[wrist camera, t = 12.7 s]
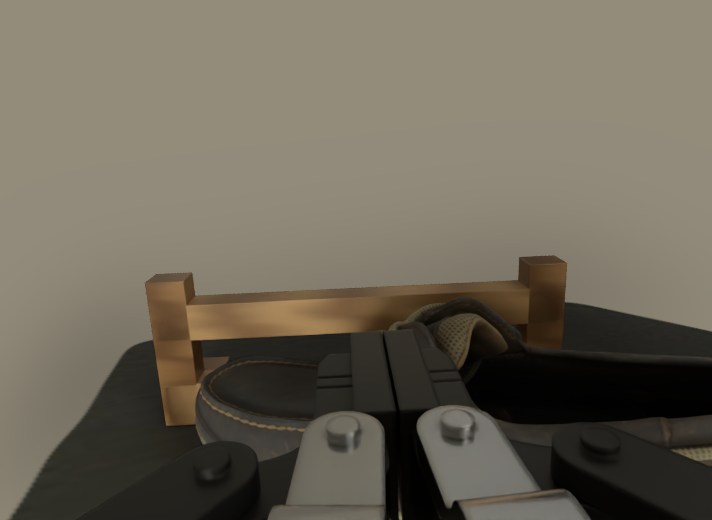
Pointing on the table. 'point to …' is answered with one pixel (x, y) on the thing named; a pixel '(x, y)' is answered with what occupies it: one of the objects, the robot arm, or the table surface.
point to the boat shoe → (481, 388)
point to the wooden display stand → (327, 318)
